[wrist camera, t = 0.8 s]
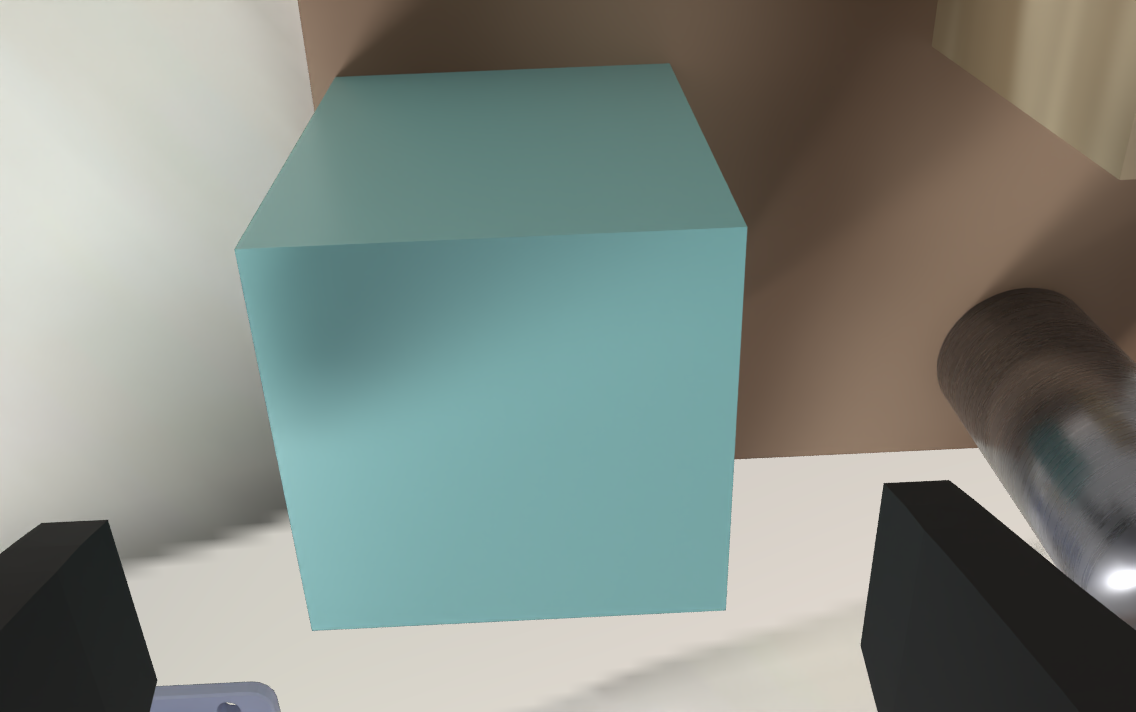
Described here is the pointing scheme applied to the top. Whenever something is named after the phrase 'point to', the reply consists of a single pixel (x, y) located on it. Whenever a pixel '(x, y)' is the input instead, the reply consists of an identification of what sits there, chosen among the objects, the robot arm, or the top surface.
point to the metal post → (1054, 429)
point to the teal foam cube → (501, 347)
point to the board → (817, 186)
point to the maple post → (1055, 66)
